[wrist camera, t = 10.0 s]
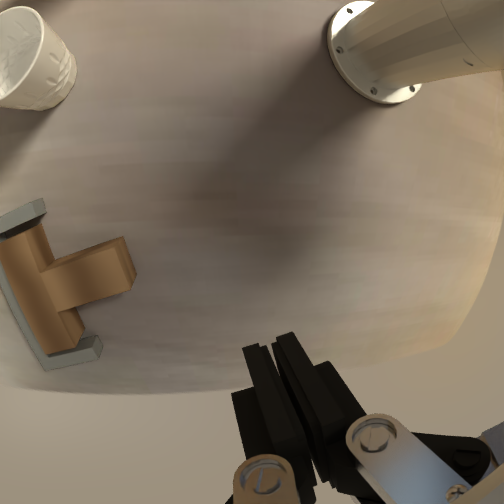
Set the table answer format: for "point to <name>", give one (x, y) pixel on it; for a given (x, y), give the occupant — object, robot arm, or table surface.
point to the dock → (80, 354)
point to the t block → (62, 283)
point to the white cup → (32, 62)
